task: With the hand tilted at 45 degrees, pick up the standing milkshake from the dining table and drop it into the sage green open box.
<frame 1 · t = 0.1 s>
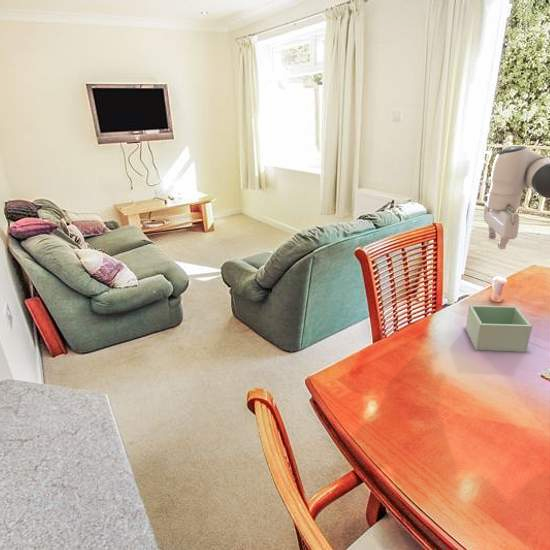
hand: (496, 243, 122), 25 cm above the table, tool pointing down, fingers open, 8 cm apart
milkshake: (497, 300, 137), on the table
sage green open box: (494, 339, 116), on the table
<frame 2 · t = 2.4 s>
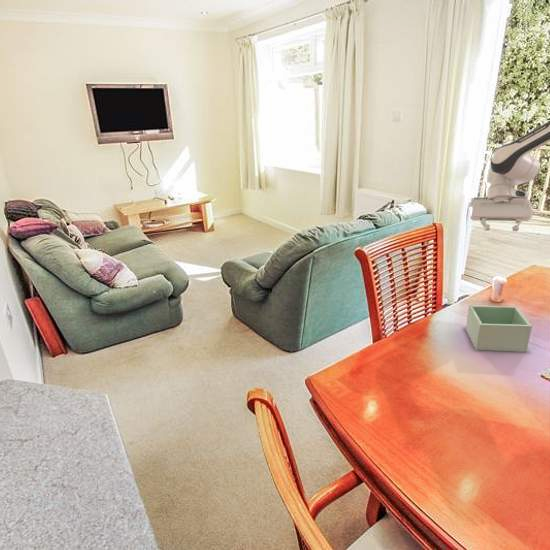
hand: (501, 230, 137), 23 cm above the table, tool tilted 45°, fingers open, 8 cm apart
nothing on the table moved.
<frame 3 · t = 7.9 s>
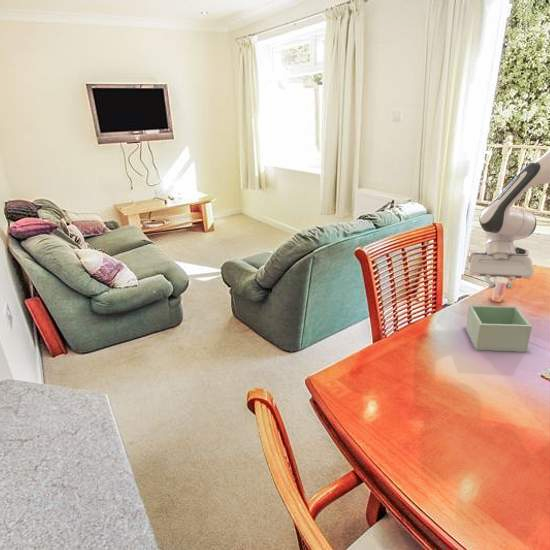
hand: (500, 288, 134), 5 cm above the table, tool tilted 45°, fingers closed on milkshake, 4 cm apart
milkshake: (497, 300, 137), on the table, touching gripper
when the fingers open (11 cm above the table, at t = 17.8 s): milkshake drops 3 cm, resting on sage green open box.
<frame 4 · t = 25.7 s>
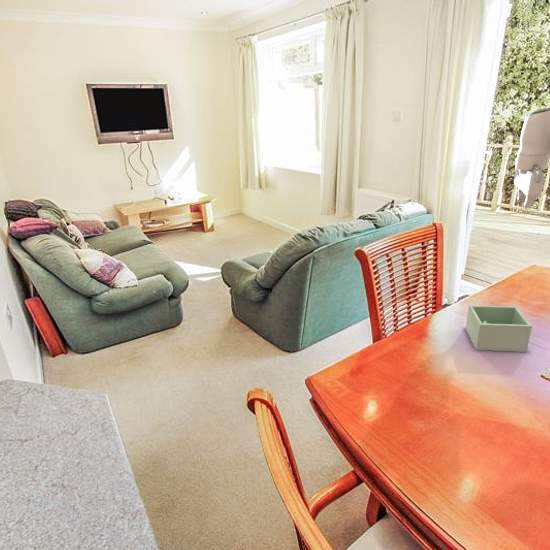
hand: (523, 204, 128), 34 cm above the table, tool pointing down, fingers open, 8 cm apart
milkshake: (510, 340, 111), point 3 cm above the table, touching sage green open box
at the end: milkshake inside the target area in the sage green open box (4.9 cm from its centre), point 2.7 cm above the sage green open box's base; the gripper is holding nothing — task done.
